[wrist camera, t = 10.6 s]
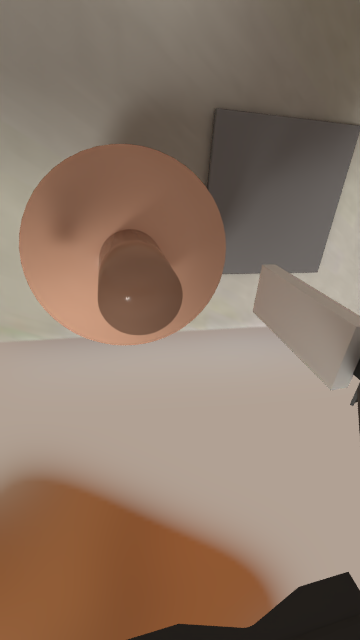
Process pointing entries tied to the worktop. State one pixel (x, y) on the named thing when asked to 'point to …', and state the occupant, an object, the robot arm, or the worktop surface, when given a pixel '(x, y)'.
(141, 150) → the lid
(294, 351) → the robot arm
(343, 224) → the worktop surface
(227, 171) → the mat
